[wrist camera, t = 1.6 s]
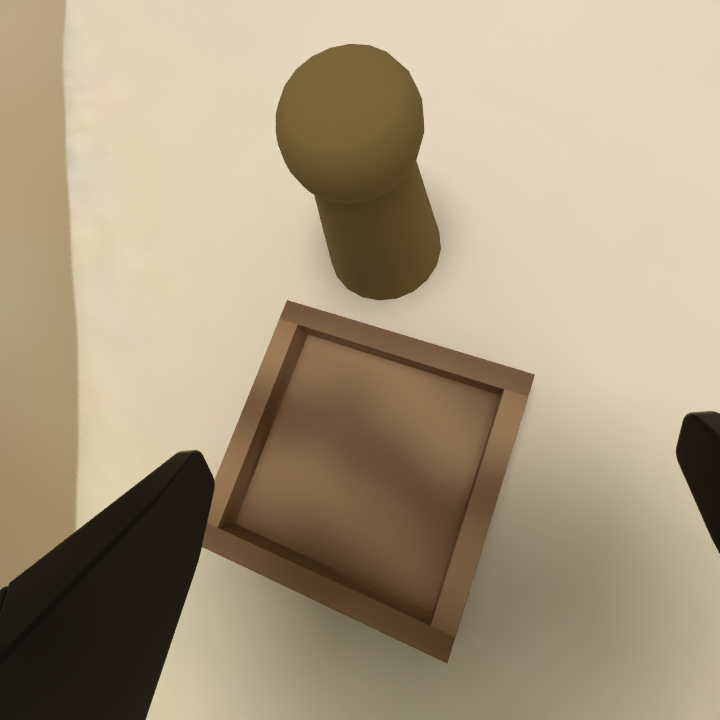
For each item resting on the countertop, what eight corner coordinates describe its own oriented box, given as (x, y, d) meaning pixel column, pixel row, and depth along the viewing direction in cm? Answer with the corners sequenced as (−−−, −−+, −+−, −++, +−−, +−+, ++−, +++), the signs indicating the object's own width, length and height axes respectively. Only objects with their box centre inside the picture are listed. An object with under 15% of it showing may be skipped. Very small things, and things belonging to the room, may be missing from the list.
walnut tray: (447, 640, 20) (447, 663, 18) (216, 533, 23) (190, 540, 21) (525, 385, 22) (534, 374, 20) (302, 316, 25) (287, 300, 23)
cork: (312, 235, 26) (220, 77, 16) (404, 178, 26) (373, -21, 15) (363, 320, 24) (299, 208, 14) (462, 261, 24) (474, 100, 14)
